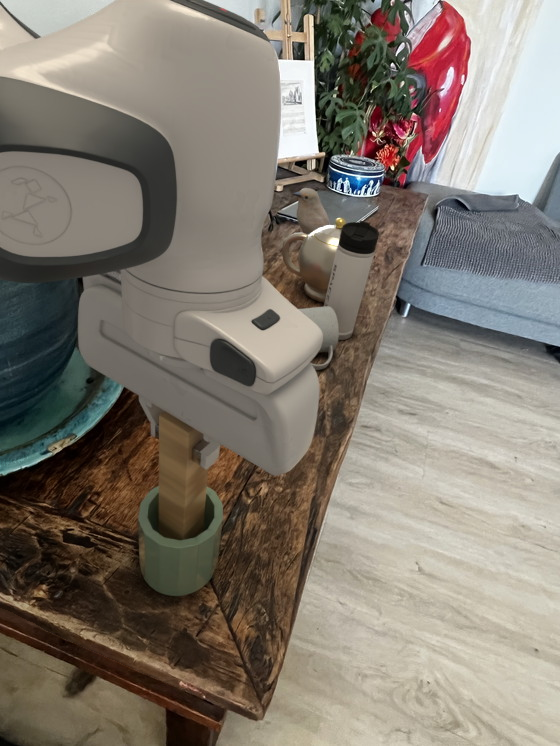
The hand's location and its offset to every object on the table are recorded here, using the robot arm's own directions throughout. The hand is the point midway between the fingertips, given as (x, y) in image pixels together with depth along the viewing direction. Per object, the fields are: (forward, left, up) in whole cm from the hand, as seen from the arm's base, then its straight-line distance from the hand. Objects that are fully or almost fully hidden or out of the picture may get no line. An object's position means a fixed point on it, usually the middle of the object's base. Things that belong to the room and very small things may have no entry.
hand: (184, 448), depth 41 cm
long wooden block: (0, 0, -14) cm, 14 cm away
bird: (+82, +31, -16) cm, 89 cm away
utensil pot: (0, 0, -16) cm, 16 cm away
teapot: (+64, +19, -16) cm, 69 cm away
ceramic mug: (+43, +9, -16) cm, 47 cm away
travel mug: (+53, +9, -16) cm, 56 cm away
